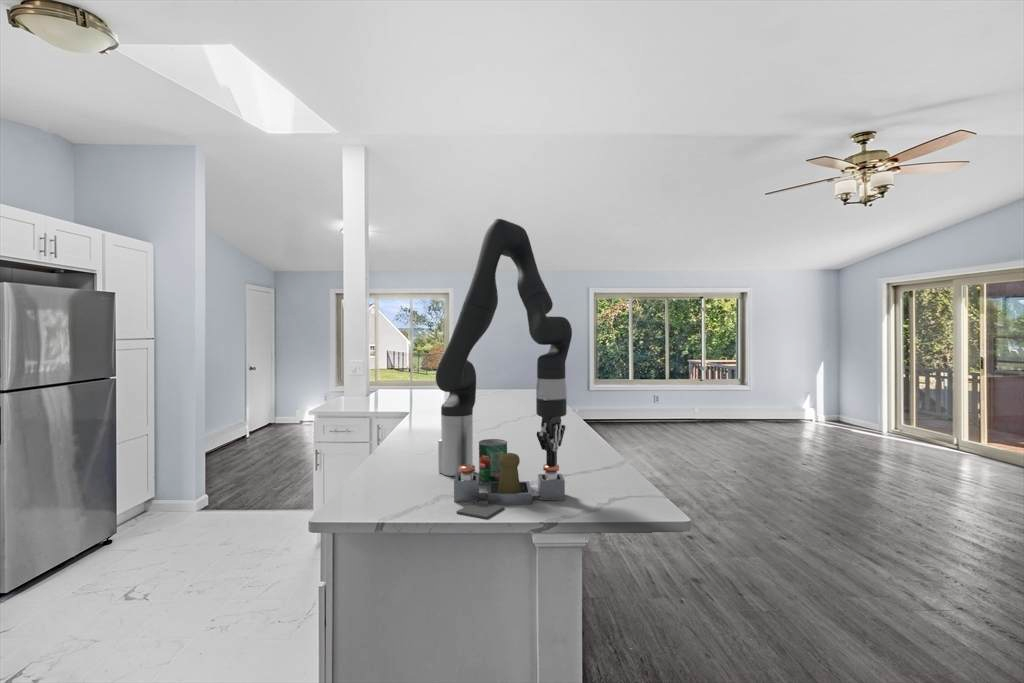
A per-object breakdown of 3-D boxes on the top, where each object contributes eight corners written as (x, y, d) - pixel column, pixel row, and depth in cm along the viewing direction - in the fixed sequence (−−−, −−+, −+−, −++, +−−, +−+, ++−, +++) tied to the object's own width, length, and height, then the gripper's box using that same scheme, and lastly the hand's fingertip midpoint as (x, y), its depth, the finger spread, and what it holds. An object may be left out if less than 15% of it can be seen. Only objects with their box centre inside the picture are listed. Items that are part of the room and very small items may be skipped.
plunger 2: (540, 494, 133) (540, 466, 133) (547, 490, 137) (547, 463, 137) (555, 496, 131) (555, 468, 131) (561, 492, 135) (561, 464, 135)
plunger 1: (455, 495, 133) (455, 467, 132) (464, 491, 136) (464, 463, 136) (469, 497, 131) (469, 469, 131) (478, 493, 134) (478, 465, 134)
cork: (524, 495, 136) (524, 452, 135) (516, 502, 130) (516, 457, 130) (502, 493, 138) (501, 450, 137) (493, 499, 132) (493, 455, 132)
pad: (456, 513, 122) (456, 511, 122) (475, 503, 129) (475, 501, 129) (486, 519, 118) (486, 516, 118) (504, 508, 125) (504, 506, 125)
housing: (453, 504, 128) (453, 484, 128) (456, 491, 139) (456, 472, 139) (565, 503, 129) (565, 482, 129) (560, 490, 140) (560, 471, 139)
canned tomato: (513, 481, 149) (513, 441, 149) (493, 487, 143) (493, 445, 143) (493, 475, 154) (493, 437, 154) (472, 481, 148) (472, 441, 148)
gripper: (548, 393, 141) (548, 458, 142) (526, 398, 130) (526, 469, 130) (575, 394, 138) (575, 461, 138) (554, 400, 126) (554, 473, 126)
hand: (551, 465), depth 134 cm, fingers closed
